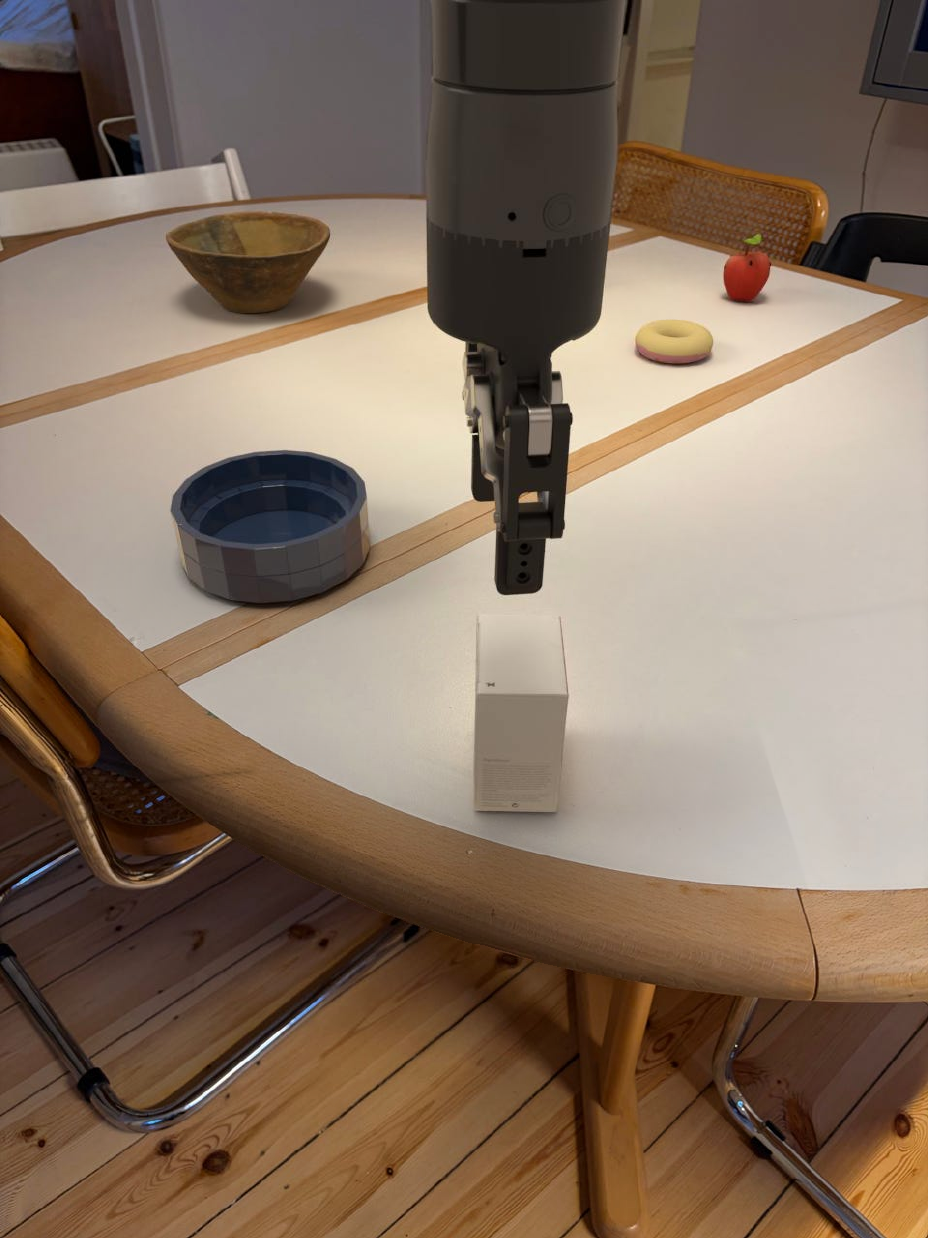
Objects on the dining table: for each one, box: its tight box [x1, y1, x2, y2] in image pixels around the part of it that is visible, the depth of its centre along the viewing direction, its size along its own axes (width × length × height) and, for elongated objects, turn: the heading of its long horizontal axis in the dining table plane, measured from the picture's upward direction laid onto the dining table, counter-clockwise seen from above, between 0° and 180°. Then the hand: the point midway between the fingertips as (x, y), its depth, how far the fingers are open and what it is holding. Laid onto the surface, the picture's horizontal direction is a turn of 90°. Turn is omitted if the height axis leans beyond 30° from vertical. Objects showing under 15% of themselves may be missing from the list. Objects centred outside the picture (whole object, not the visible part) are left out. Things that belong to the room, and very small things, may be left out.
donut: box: [634, 319, 714, 365], centre depth 121 cm, size 10×5×9 cm
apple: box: [722, 233, 772, 303], centre depth 135 cm, size 8×7×10 cm
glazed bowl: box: [169, 449, 371, 604], centre depth 83 cm, size 17×17×6 cm
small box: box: [472, 613, 570, 813], centre depth 61 cm, size 8×6×10 cm
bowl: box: [165, 211, 331, 314], centre depth 132 cm, size 22×23×10 cm
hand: (503, 541), depth 48 cm, fingers open, 8 cm apart
